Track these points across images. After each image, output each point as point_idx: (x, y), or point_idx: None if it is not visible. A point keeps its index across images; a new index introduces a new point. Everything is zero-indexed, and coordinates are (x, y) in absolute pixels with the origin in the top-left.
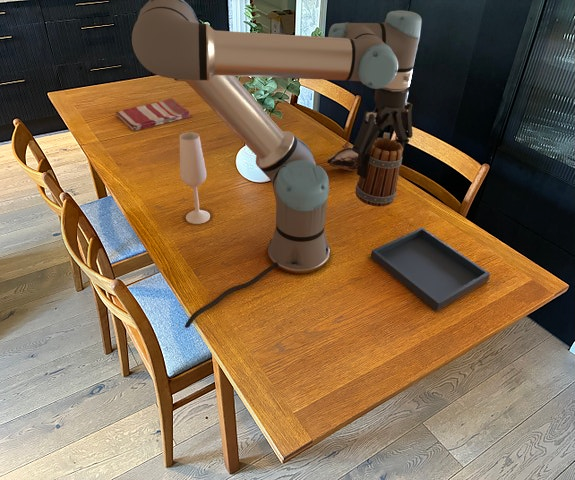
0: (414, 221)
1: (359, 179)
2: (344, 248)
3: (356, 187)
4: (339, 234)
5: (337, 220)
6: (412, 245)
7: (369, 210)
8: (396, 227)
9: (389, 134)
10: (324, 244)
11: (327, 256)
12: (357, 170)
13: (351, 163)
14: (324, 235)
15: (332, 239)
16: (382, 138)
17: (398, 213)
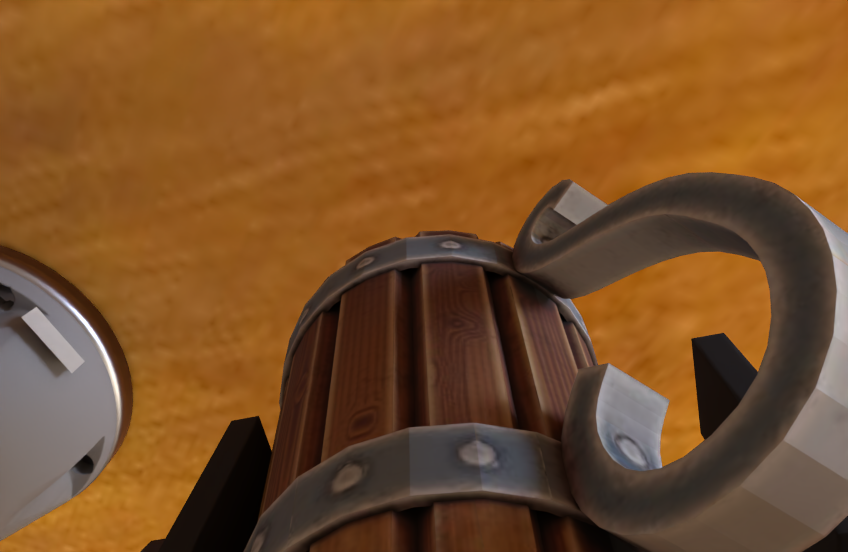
0: (688, 345)
1: (288, 383)
2: (221, 405)
3: (292, 339)
4: (237, 307)
5: (273, 192)
6: None
7: (509, 165)
8: None
9: (827, 528)
10: (31, 520)
11: (88, 484)
12: (219, 446)
13: None
14: (24, 504)
15: (186, 330)
16: (782, 258)
17: None
